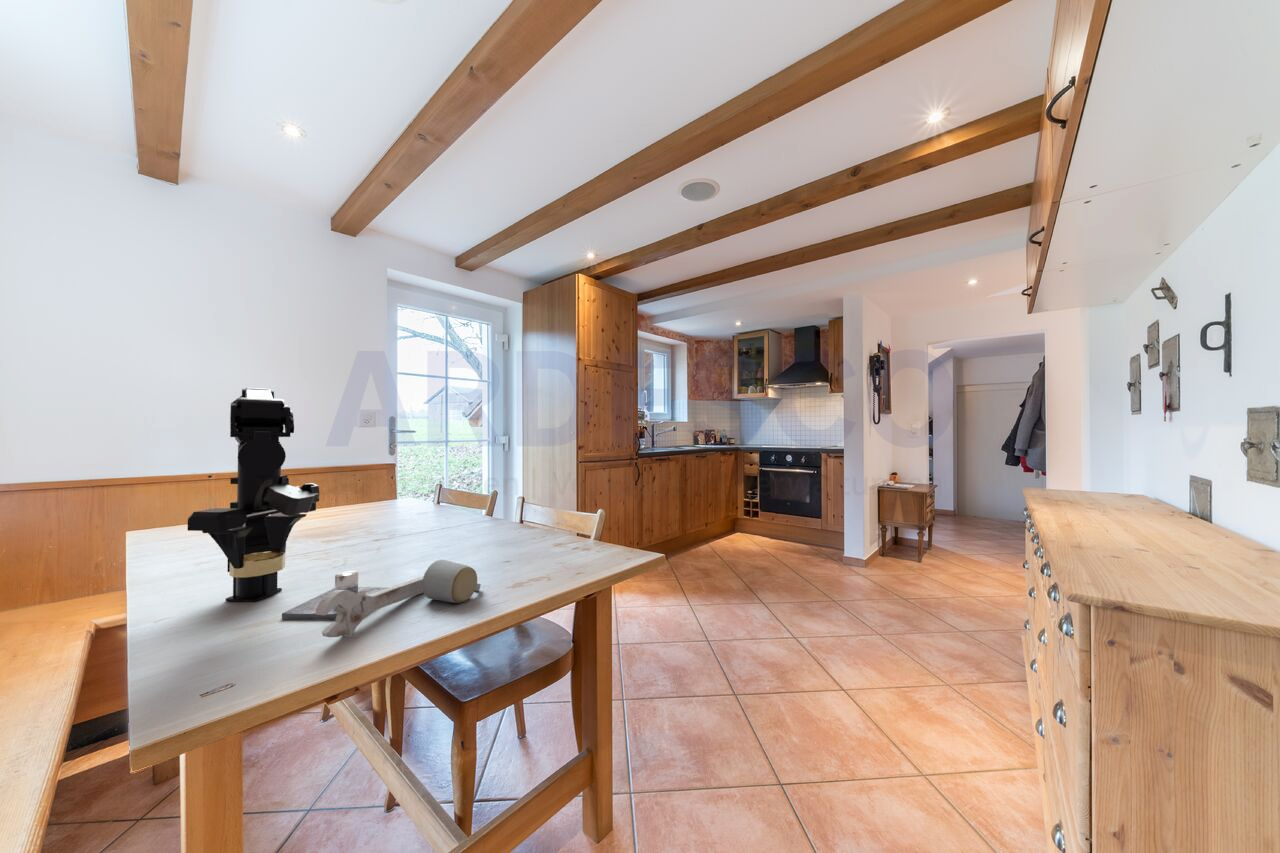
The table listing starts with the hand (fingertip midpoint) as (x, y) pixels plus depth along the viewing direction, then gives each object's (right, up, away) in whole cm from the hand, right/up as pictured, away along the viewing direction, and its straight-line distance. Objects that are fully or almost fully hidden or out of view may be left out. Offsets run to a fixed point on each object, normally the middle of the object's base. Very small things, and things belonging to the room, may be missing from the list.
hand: (258, 561), depth 76 cm
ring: (0, -2, 0) cm, 2 cm away
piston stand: (+8, -12, +11) cm, 18 cm away
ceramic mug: (+28, -12, +14) cm, 34 cm away
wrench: (+18, -12, +7) cm, 23 cm away
